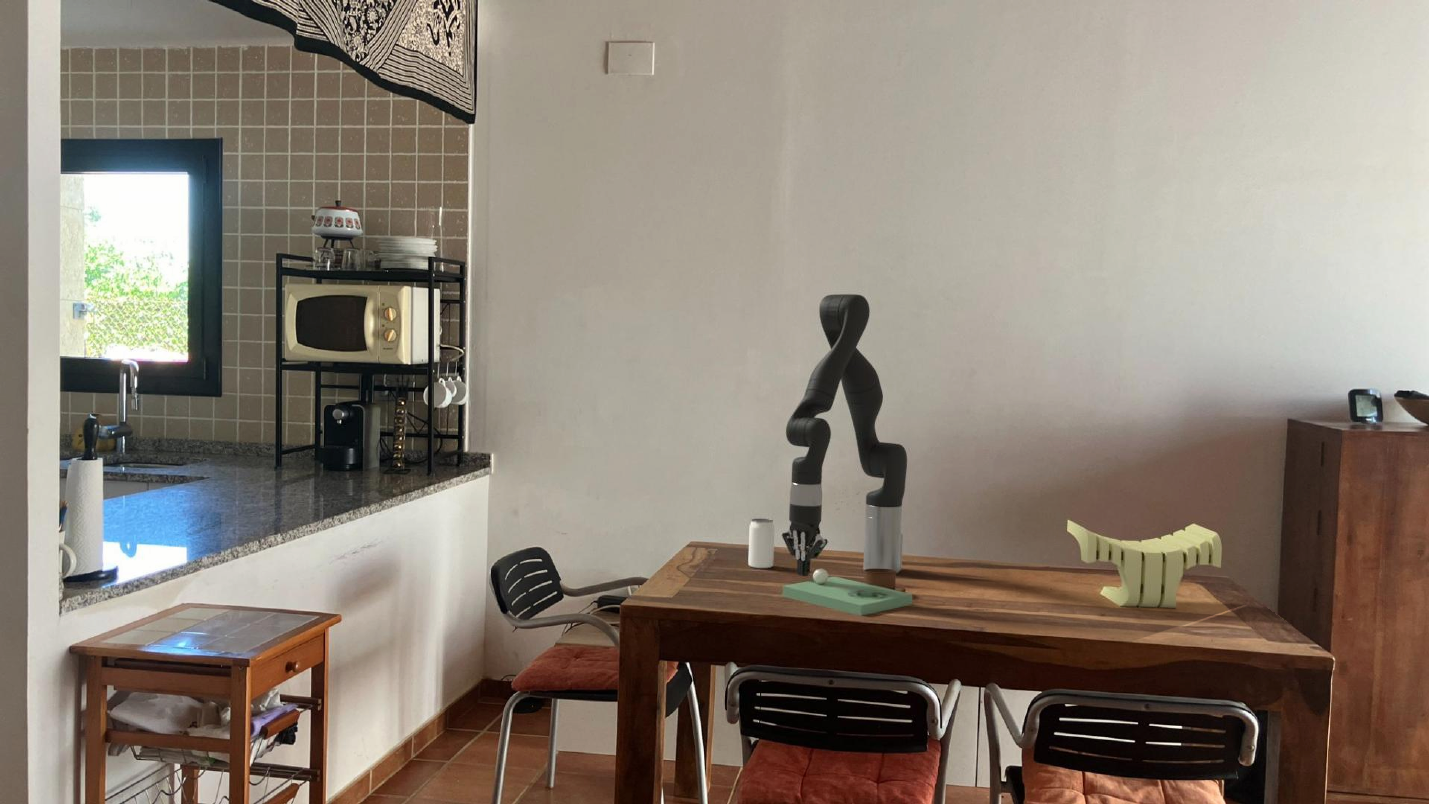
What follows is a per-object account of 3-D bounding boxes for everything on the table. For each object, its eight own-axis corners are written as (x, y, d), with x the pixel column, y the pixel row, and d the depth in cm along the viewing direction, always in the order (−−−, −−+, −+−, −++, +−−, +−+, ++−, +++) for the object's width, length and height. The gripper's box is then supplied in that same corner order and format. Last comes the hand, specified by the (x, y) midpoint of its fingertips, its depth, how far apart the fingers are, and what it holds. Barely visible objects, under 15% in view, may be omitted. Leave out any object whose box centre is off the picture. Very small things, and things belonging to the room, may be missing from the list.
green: (782, 596, 255) (782, 585, 255) (833, 586, 267) (834, 576, 267) (860, 617, 238) (861, 605, 238) (912, 605, 250) (912, 594, 250)
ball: (819, 581, 261) (820, 566, 261) (831, 584, 258) (831, 569, 258) (809, 583, 258) (810, 568, 258) (821, 586, 256) (821, 570, 256)
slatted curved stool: (1085, 608, 253) (1089, 530, 252) (1064, 592, 269) (1067, 519, 268) (1218, 613, 252) (1222, 535, 251) (1189, 597, 268) (1193, 523, 267)
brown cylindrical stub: (843, 596, 262) (843, 569, 262) (877, 591, 270) (877, 565, 270) (882, 602, 253) (882, 575, 253) (916, 597, 260) (916, 571, 261)
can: (771, 569, 285) (772, 522, 285) (746, 567, 287) (747, 521, 286) (774, 564, 292) (776, 519, 291) (750, 563, 293) (752, 517, 292)
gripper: (837, 504, 259) (835, 578, 260) (796, 497, 269) (793, 568, 269) (816, 507, 254) (813, 582, 255) (774, 499, 263) (771, 572, 264)
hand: (803, 575), depth 262 cm, fingers closed
